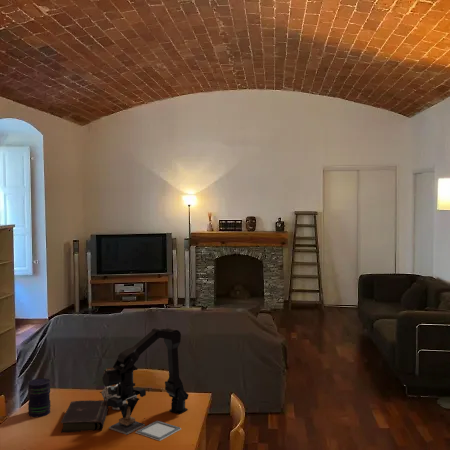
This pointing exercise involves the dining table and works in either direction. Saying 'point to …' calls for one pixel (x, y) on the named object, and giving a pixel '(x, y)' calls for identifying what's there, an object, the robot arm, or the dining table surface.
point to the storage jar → (39, 397)
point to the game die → (106, 393)
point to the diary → (84, 416)
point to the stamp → (127, 419)
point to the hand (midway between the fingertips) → (127, 416)
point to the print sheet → (158, 430)
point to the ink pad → (126, 427)
